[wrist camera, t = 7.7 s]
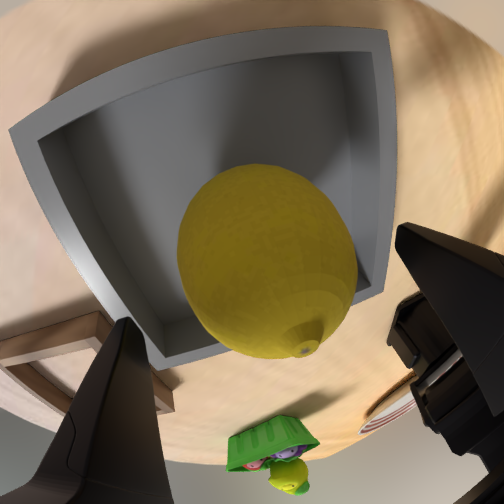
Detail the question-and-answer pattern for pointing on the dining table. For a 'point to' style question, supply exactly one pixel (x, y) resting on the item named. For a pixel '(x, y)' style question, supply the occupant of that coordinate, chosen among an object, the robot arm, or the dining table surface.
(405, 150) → the dining table surface
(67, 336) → the lemon holder
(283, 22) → the dining table surface
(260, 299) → the lemon
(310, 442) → the fruit basket
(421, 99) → the dining table surface
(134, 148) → the tray
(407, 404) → the dinner plate
